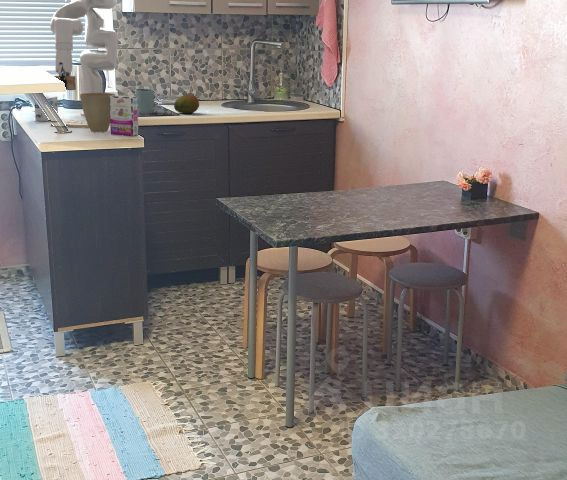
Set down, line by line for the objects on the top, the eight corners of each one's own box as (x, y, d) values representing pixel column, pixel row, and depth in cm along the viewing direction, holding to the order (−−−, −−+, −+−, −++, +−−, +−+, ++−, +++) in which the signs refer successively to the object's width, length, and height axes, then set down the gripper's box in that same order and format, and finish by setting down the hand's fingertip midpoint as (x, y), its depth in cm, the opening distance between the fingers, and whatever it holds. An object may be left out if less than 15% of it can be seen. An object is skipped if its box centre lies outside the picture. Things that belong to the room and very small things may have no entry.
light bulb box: (48, 121, 374) (47, 98, 371) (34, 120, 375) (33, 97, 372) (58, 119, 384) (57, 96, 381) (45, 118, 385) (44, 95, 382)
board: (60, 122, 371) (60, 119, 371) (98, 124, 370) (98, 121, 370) (50, 126, 359) (50, 123, 359) (90, 128, 358) (90, 125, 358)
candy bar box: (139, 135, 342) (138, 96, 338) (132, 136, 338) (132, 97, 333) (116, 133, 346) (115, 94, 342) (109, 134, 341) (109, 95, 337)
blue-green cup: (145, 111, 426) (144, 88, 423) (158, 113, 420) (158, 89, 417) (131, 112, 418) (130, 89, 415) (145, 114, 412) (144, 90, 409)
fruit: (201, 114, 420) (202, 95, 417) (179, 115, 414) (179, 95, 411) (193, 112, 430) (193, 93, 427) (171, 112, 424) (171, 93, 421)
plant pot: (103, 127, 360) (102, 91, 356) (122, 131, 350) (122, 94, 346) (74, 130, 350) (73, 93, 345) (93, 134, 340) (92, 96, 336)
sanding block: (58, 88, 366) (58, 75, 364) (75, 89, 365) (75, 76, 364) (54, 89, 361) (54, 75, 359) (72, 90, 360) (71, 76, 359)
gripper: (62, 46, 367) (63, 87, 371) (49, 46, 350) (50, 89, 355) (78, 47, 367) (79, 87, 371) (66, 47, 350) (67, 89, 354)
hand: (65, 87), depth 363 cm, fingers closed on sanding block, 5 cm apart
